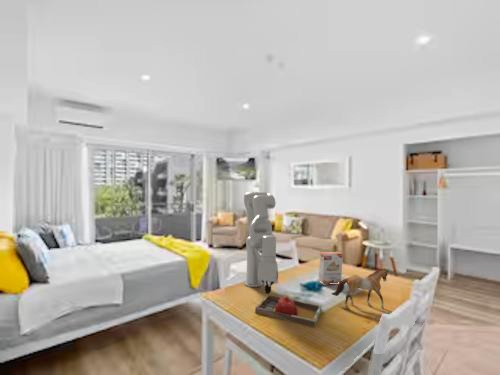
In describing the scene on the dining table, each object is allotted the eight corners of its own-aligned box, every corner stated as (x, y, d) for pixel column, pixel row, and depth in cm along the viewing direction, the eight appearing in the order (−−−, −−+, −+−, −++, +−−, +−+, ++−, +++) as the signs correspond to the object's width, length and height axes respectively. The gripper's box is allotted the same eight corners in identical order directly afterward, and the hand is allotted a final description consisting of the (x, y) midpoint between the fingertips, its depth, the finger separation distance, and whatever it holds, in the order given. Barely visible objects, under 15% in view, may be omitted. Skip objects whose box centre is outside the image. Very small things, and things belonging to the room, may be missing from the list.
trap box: (267, 298, 155) (267, 294, 155) (321, 310, 142) (321, 305, 142) (255, 312, 138) (255, 307, 138) (314, 327, 126) (314, 321, 126)
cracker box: (323, 286, 176) (324, 254, 176) (318, 282, 182) (319, 251, 182) (341, 284, 180) (342, 253, 180) (336, 281, 186) (337, 251, 185)
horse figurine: (385, 303, 153) (386, 267, 152) (392, 310, 145) (394, 272, 145) (330, 302, 152) (332, 266, 152) (335, 309, 145) (336, 271, 144)
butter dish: (298, 319, 133) (298, 302, 133) (274, 317, 135) (275, 300, 135) (296, 308, 145) (297, 292, 145) (275, 306, 146) (275, 291, 146)
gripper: (253, 258, 144) (252, 292, 144) (279, 262, 138) (279, 298, 138) (258, 255, 151) (257, 288, 151) (284, 258, 145) (283, 293, 145)
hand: (267, 292), depth 144 cm, fingers closed
